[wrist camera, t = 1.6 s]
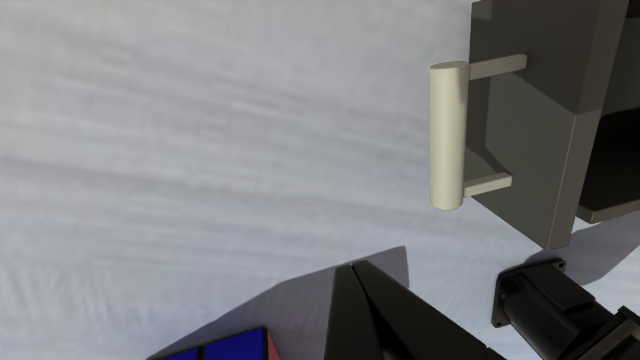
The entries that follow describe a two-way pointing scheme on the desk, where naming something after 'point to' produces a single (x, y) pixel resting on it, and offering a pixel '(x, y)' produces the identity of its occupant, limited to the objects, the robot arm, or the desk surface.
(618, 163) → the drawer
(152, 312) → the desk surface
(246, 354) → the puzzle cube
